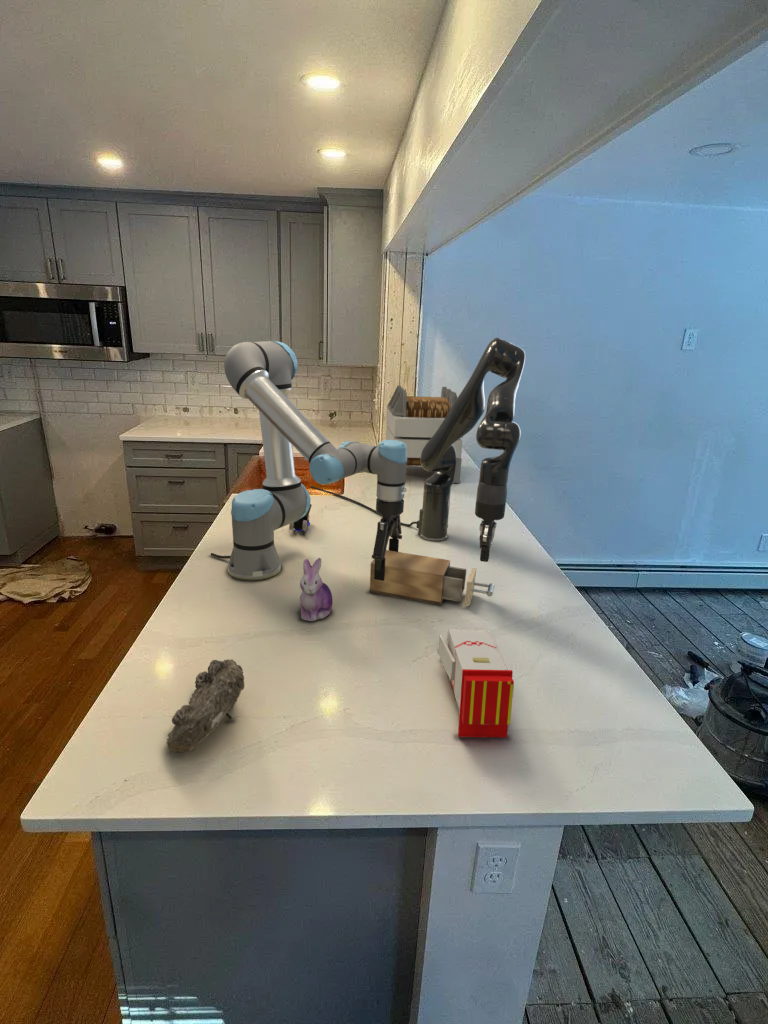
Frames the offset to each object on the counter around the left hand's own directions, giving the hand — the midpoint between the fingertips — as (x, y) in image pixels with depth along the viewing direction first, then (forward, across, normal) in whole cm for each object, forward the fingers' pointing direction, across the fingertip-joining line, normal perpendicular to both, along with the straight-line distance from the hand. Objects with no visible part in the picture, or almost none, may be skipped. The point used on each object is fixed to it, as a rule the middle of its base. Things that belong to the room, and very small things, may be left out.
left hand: (386, 569), depth 160 cm
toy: (+5, -39, -30) cm, 50 cm away
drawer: (+4, 0, -18) cm, 18 cm away
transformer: (+6, +120, +19) cm, 121 cm away
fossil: (+5, -64, +15) cm, 66 cm away
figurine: (+5, -21, +12) cm, 25 cm away
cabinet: (+5, 0, -7) cm, 9 cm away
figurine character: (+6, +30, +40) cm, 51 cm away
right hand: (-8, 0, -27) cm, 28 cm away
